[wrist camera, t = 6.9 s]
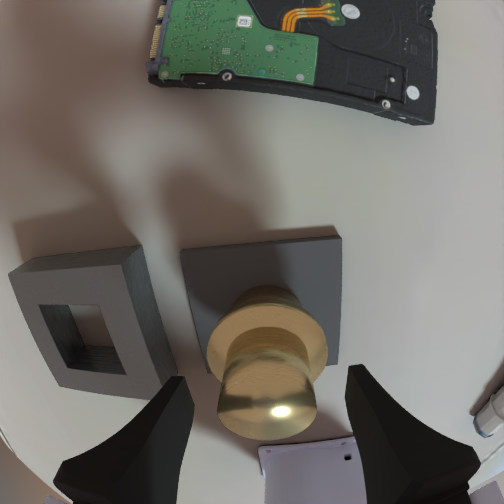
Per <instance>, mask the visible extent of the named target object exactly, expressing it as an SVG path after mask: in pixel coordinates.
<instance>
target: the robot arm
mask: <svg viewBox="0 0 504 504" xmlns="http://www.w3.org/2000/svg"><path fill="white" fill-rule="evenodd" d="M345 401H346V407H347V413H348V417H349V421H350V424H351V427H352V430H353V434H354V437H348V438H342V439H335V440H328V441H321V442H312V443H303V444H292V445H277V446H261V447H259V448H258V453H259V458H260V463H261V467H262V472H263V477H264V480H265V504H504V498H503V496H502V494H501V491H500V489H499V486H498V484H497V482H496V481H493V482H491V483H489V484H487V485H486V486H484V487H482V488H480V489H478V490H476V491H474V492H473V493H471V494H470V495H468V492H467V490H468V489H469V484H468V481H469V480H470V478H471V477H472V476H473V475H474V474H475V473H476V472H477V471H478V469H479V468H480V465H481V462H480V460H479V458H478V456H477V454H476V452H475V450H474V449H473V447H471V446H468V445H466V444H463V443H460V442H457V441H455V440H453V439H450V438H448V437H446V436H444V435H442V434H440V433H438V432H437V431H435V430H433V429H432V428H430V427H428V426H427V425H425V424H424V423H422V422H421V421H419V420H418V419H417V418H415V417H414V416H413V415H411V414H410V413H409V412H408V411H406V410H405V409H404V408H403V407H402V406H401V405H400V404H399V403H397V402H396V401H395V400H394V399H393V398H392V397H391V396H390V395H389V394H388V393H387V392H386V391H385V389H384V388H383V387H382V386H381V385H380V384H379V383H378V382H377V381H376V379H375V378H374V377H373V376H372V375H371V374H370V372H369V371H368V370H367V369H366V367H365V366H364V365H363V364H358V365H352V366H349V367H348V376H347V384H346V391H345ZM194 406H195V405H194V403H193V400H192V397H191V394H190V391H189V389H188V386H187V383H186V380H185V377H184V376H171V377H170V378H169V379H168V381H167V382H166V383H165V384H164V385H163V387H162V388H161V389H160V390H159V391H158V392H157V394H156V395H155V396H154V397H153V398H152V399H151V401H150V402H149V403H148V404H147V405H146V406H145V407H144V408H143V409H142V410H141V411H140V412H139V413H138V414H137V415H136V416H135V417H134V418H133V419H132V420H131V421H130V422H129V423H128V424H127V425H126V426H124V427H123V428H122V429H121V430H120V431H118V432H117V433H116V434H114V435H113V436H111V437H110V438H108V439H107V440H105V441H104V442H102V443H101V444H99V445H98V446H96V447H94V448H92V449H90V450H88V451H86V452H84V453H82V454H80V455H78V456H75V457H73V458H70V459H68V460H65V461H63V462H62V464H61V466H60V468H59V470H58V472H57V474H56V476H55V478H54V480H53V483H54V485H55V486H56V487H57V488H58V489H59V490H60V491H61V492H62V493H63V494H65V495H66V496H67V497H68V498H69V499H71V500H72V501H73V504H176V500H177V490H178V482H179V475H180V468H181V464H182V460H183V456H184V452H185V449H186V445H187V442H188V438H189V434H190V431H191V427H192V422H193V414H194ZM44 504H67V503H65V502H63V501H61V500H58V499H56V498H54V497H52V496H50V495H47V498H46V500H45V502H44Z"/></svg>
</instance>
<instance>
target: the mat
mask: <svg viewBox="0 0 504 504" xmlns="http://www.w3.org/2000/svg"><path fill="white" fill-rule="evenodd" d="M180 258H181V263H182V268H183V272H184V277H185V282H186V287H187V291H188V296H189V300H190V305H191V309H192V313H193V317H194V322H195V326H196V330H197V334H198V338H199V342H200V346H201V350H202V354H203V358H204V361H205V365H206V369H207V372H208V373H212V371H211V369H210V367H209V364H208V361H207V346H208V342H209V338H210V335H211V332H212V329H213V327H214V325H215V324H216V322H217V321H218V320H219V319H220V318H221V316H223V315H224V314H225V313H226V312H227V311H229V310H231V309H232V306H233V304H234V302H235V301H236V299H237V298H238V297H239V296H240V295H241V294H242V293H243V292H245V291H247V290H248V289H251V288H253V287H256V286H261V285H274V286H279V287H282V288H285V289H287V290H288V291H290V292H291V293H293V294H294V295H295V296H296V297H297V298H298V299H299V301H300V303H301V305H302V307H303V308H304V309H305V310H307V311H308V312H309V313H311V314H312V315H313V316H314V317H315V318H316V319H317V321H318V322H319V323H320V325H321V327H322V329H323V332H324V335H325V339H326V342H327V347H328V357H327V362H326V365H325V366H329V365H337V364H338V353H339V338H340V319H341V292H342V238H341V237H340V236H339V235H338V236H326V237H314V238H303V239H291V240H280V241H268V242H257V243H246V244H235V245H224V246H213V247H203V248H192V249H182V250H181V252H180Z"/></svg>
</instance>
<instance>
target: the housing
mask: <svg viewBox="0 0 504 504" xmlns="http://www.w3.org/2000/svg"><path fill="white" fill-rule="evenodd" d="M8 276H9V279H10V282H11V285H12V287H13V290H14V293H15V296H16V298H17V301H18V303H19V306H20V308H21V311H22V313H23V315H24V318H25V320H26V322H27V325H28V327H29V329H30V331H31V333H32V336H33V338H34V340H35V342H36V344H37V346H38V348H39V350H40V352H41V354H42V356H43V358H44V360H45V362H46V363H47V365H48V367H49V369H50V371H51V372H52V374H53V376H54V378H55V380H56V381H57V383H58V385H59V386H60V387H65V388H70V389H75V390H81V391H86V392H92V393H98V394H105V395H112V396H120V397H128V398H137V399H148V400H151V399H152V398H153V397H154V396H155V395H156V394H157V392H158V391H159V390H160V389H161V388H162V387H163V385H164V384H165V383H166V382H167V381H168V379H169V378H170V377H171V376H177V374H178V371H177V368H176V365H175V362H174V359H173V356H172V353H171V350H170V347H169V344H168V341H167V338H166V334H165V331H164V328H163V324H162V321H161V318H160V314H159V311H158V307H157V303H156V300H155V296H154V292H153V289H152V285H151V281H150V277H149V273H148V269H147V265H146V260H145V256H144V252H143V247H142V245H140V246H131V247H122V248H113V249H104V250H96V251H87V252H79V253H71V254H62V255H54V256H46V257H38V258H32V259H30V260H29V261H27V262H26V263H24V264H22V265H21V266H19V267H18V268H16V269H15V270H13V271H12V272H10V273H9V274H8ZM95 304H99V307H100V310H101V313H102V316H103V318H104V321H105V324H106V326H107V329H108V332H109V334H110V337H111V339H112V342H113V344H114V347H99V346H86V345H84V343H83V341H82V338H81V336H80V334H79V331H78V329H77V327H76V324H75V322H74V319H73V317H72V314H71V312H70V309H69V306H68V305H95Z"/></svg>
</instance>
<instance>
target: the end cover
mask: <svg viewBox="0 0 504 504" xmlns="http://www.w3.org/2000/svg"><path fill="white" fill-rule="evenodd" d="M327 357H328V347H327V342H326V339H325V335H324V332H323V329H322V327H321V325H320V323H319V322H318V321H317V319H316V318H315V317H314V316H313V315H312V314H311V313H309V312H308V311H307V310H305V309H304V308H303V307H302V305H301V303H300V301H299V299H298V298H297V297H296V296H295V295H294V294H293V293H291V292H290V291H288V290H287V289H285V288H282V287H279V286H274V285H261V286H256V287H253V288H251V289H248V290H247V291H245V292H243V293H242V294H241V295H240V296H239V297H238V298H237V299H236V301H235V302H234V304H233V306H232V309H231V310H229V311H227V312H226V313H225V314H224V315H223V316H221V318H220V319H219V320H218V321H217V322H216V324H215V325H214V327H213V329H212V332H211V335H210V338H209V342H208V346H207V361H208V364H209V367H210V369H211V371H212V373H213V374H214V376H215V377H216V378H217V379H218V380H219V381H220V382H221V383H222V384H221V390H220V396H219V402H218V408H217V413H218V417H219V419H220V421H221V422H222V424H223V425H224V426H225V427H226V428H228V429H229V430H230V431H232V432H234V433H235V434H238V435H240V436H243V437H246V438H250V439H255V440H278V439H283V438H287V437H290V436H293V435H296V434H298V433H300V432H301V431H303V430H305V429H306V428H307V427H308V426H309V425H310V424H311V423H312V422H313V420H314V419H315V417H316V413H317V405H316V399H315V393H314V387H313V382H314V381H315V380H316V379H317V378H318V377H319V375H320V374H321V373H322V371H323V369H324V367H325V365H326V362H327Z"/></svg>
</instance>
